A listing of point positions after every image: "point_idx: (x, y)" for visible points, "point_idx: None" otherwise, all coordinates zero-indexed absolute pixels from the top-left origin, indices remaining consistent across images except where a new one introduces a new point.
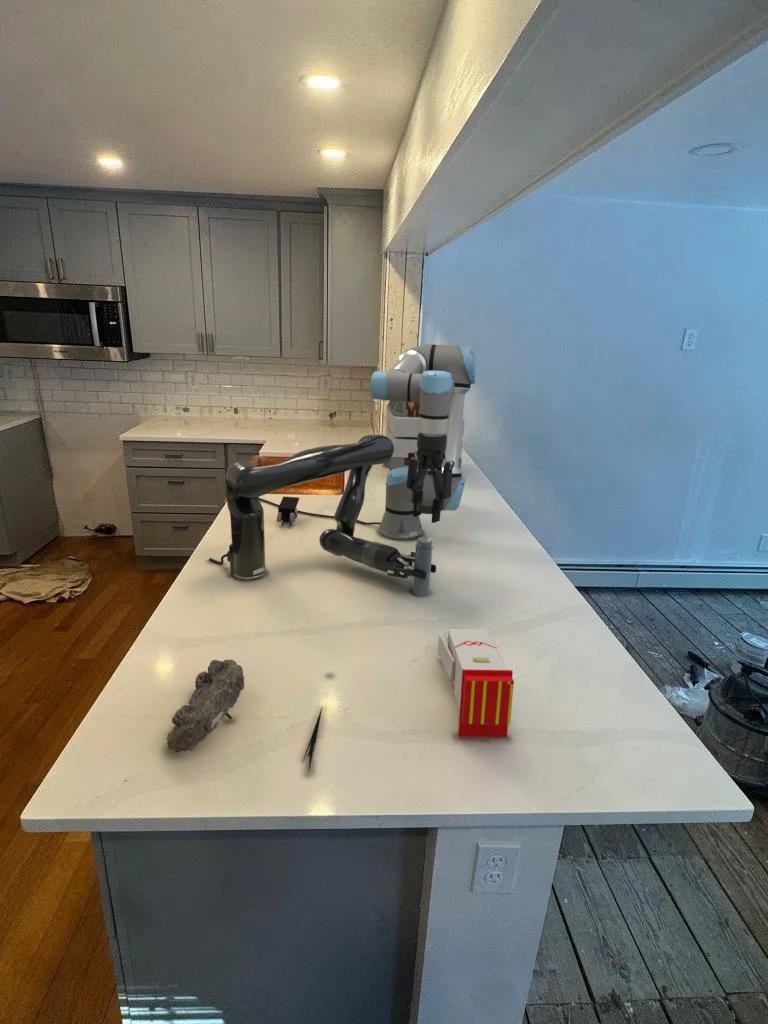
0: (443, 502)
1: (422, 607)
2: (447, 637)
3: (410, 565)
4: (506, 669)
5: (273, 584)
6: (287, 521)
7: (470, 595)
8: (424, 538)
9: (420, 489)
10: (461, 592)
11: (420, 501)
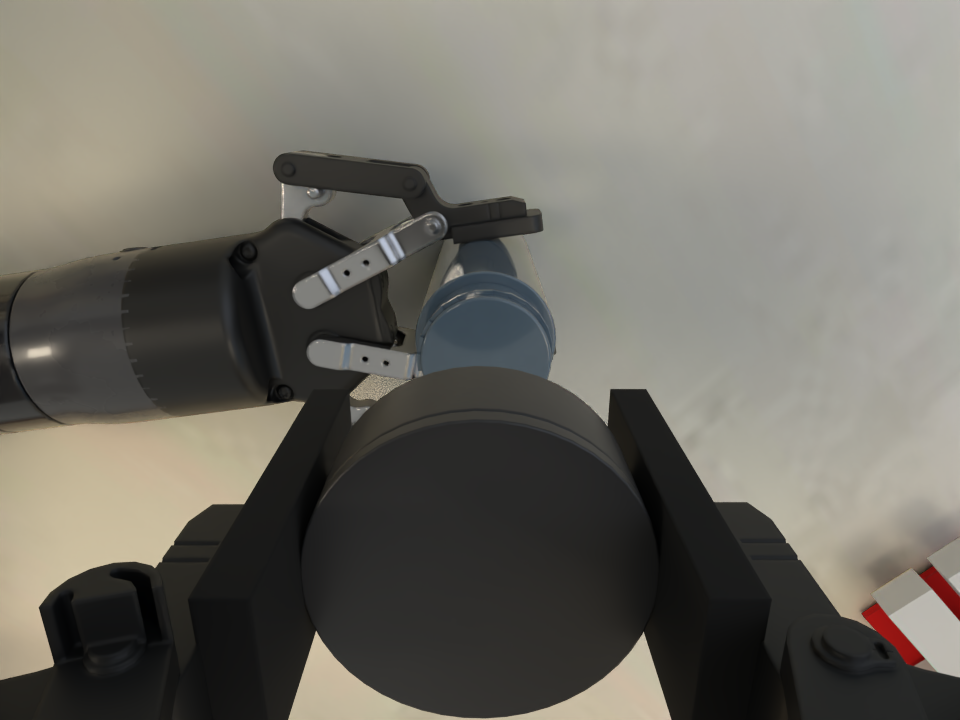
0: (822, 594)
1: (586, 376)
2: (875, 599)
3: (386, 289)
4: None
5: (4, 658)
6: None
7: (712, 84)
8: (463, 337)
9: (175, 654)
10: (653, 92)
11: (363, 616)
